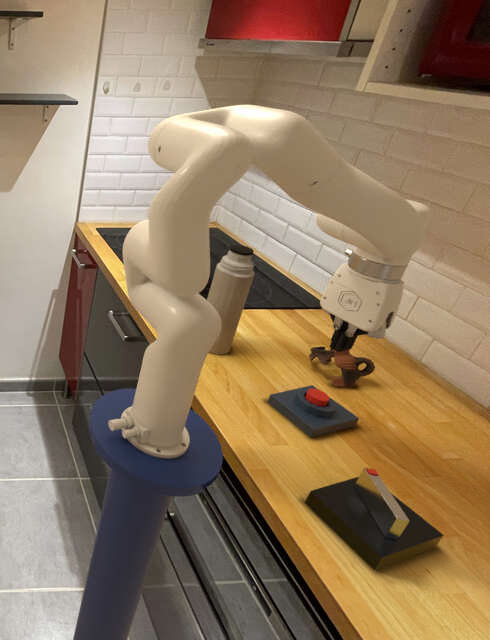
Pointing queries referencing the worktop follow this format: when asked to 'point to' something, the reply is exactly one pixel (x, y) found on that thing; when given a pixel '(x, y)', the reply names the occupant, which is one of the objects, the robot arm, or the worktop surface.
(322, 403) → the button
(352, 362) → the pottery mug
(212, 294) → the thermos bottle
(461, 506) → the worktop surface
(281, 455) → the worktop surface
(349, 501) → the base
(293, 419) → the red push button box
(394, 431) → the worktop surface
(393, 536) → the silver lever handle
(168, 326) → the robot arm
